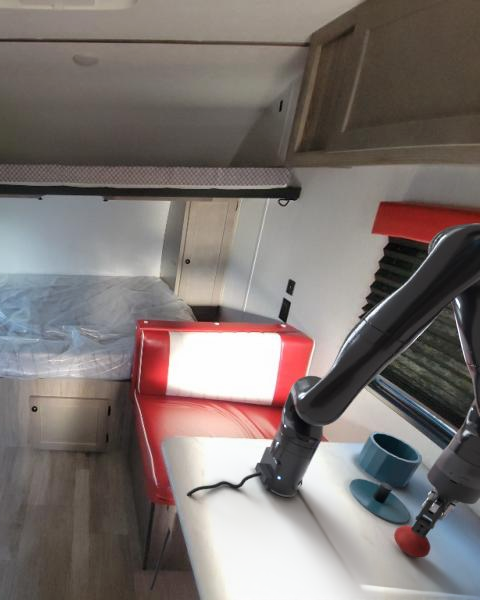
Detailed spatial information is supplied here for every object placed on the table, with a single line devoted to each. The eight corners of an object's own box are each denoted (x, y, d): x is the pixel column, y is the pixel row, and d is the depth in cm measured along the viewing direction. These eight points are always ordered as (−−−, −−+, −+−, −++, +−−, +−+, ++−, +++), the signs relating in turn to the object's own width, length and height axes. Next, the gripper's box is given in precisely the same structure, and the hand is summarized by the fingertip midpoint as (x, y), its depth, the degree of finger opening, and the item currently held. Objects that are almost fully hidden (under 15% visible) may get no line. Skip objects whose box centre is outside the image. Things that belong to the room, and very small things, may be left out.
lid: (372, 522, 84) (383, 505, 82) (338, 479, 96) (346, 463, 94) (420, 527, 85) (432, 511, 82) (380, 483, 96) (390, 468, 94)
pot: (376, 486, 95) (392, 460, 92) (347, 454, 106) (360, 429, 102) (416, 490, 95) (433, 464, 92) (383, 457, 106) (397, 433, 102)
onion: (407, 541, 81) (423, 518, 78) (427, 567, 75) (446, 544, 72) (382, 537, 81) (397, 514, 78) (401, 562, 76) (418, 539, 73)
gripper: (448, 448, 75) (415, 499, 81) (425, 470, 69) (390, 523, 74) (497, 474, 69) (458, 527, 75) (477, 501, 63) (435, 556, 68)
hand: (424, 525), depth 75 cm, fingers open, 8 cm apart
